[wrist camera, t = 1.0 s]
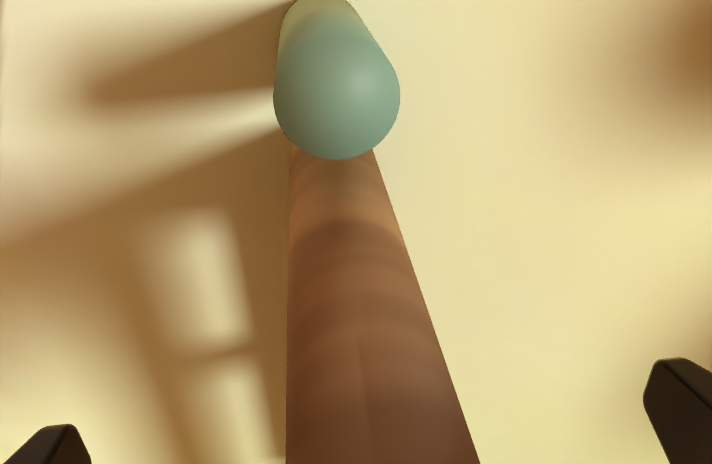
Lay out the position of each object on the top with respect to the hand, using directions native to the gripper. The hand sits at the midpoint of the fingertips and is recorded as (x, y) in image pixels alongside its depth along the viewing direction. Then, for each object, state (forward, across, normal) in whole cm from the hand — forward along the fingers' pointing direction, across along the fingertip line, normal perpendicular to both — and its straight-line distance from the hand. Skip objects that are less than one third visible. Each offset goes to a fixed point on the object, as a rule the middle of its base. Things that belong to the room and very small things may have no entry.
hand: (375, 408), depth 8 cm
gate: (+10, 0, +6) cm, 12 cm away
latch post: (+10, 0, -4) cm, 11 cm away
